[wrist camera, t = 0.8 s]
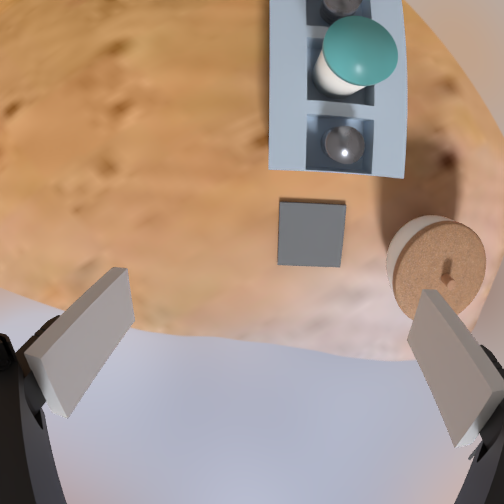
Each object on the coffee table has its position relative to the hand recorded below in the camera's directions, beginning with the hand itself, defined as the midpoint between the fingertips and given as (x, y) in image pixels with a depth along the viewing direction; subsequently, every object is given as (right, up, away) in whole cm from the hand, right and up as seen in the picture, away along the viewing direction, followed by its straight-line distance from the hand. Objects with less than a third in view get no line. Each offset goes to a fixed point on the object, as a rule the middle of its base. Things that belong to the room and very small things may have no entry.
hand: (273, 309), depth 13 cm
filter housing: (+7, +20, +15) cm, 26 cm away
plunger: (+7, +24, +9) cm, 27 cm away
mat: (+5, +4, +21) cm, 22 cm away
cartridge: (+7, +19, +13) cm, 24 cm away
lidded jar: (+18, +3, +20) cm, 28 cm away
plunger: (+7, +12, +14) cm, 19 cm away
